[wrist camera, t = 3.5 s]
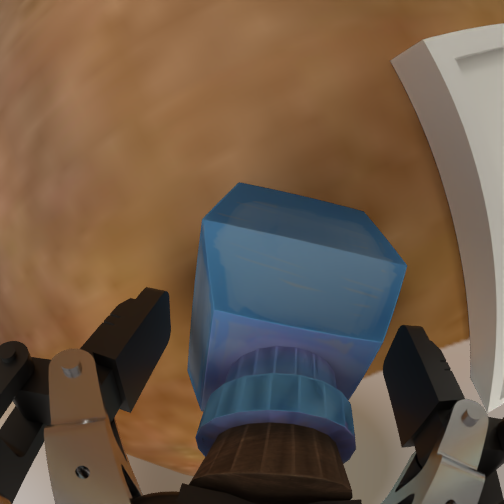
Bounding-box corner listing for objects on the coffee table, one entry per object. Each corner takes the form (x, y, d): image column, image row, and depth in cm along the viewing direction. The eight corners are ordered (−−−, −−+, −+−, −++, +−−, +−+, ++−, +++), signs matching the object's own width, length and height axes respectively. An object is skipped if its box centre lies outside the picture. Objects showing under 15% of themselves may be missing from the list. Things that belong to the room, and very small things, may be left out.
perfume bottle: (363, 211, 14) (500, 420, 3) (328, 315, 16) (347, 530, 5) (238, 182, 14) (77, 360, 3) (220, 292, 16) (135, 498, 5)
